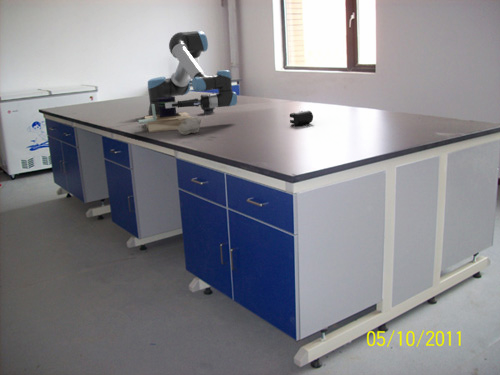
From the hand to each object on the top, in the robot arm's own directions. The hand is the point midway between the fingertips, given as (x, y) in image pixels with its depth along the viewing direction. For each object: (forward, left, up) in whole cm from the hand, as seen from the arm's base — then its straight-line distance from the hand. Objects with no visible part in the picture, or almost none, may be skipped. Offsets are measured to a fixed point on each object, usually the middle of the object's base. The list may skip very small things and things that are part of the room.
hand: (165, 105), depth 273 cm
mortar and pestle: (-49, -22, -13) cm, 55 cm away
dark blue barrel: (-10, -12, -13) cm, 20 cm away
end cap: (-38, +62, -13) cm, 74 cm away
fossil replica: (+4, +24, -13) cm, 28 cm away
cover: (+9, -5, -8) cm, 13 cm away
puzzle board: (-6, -7, -12) cm, 15 cm away
